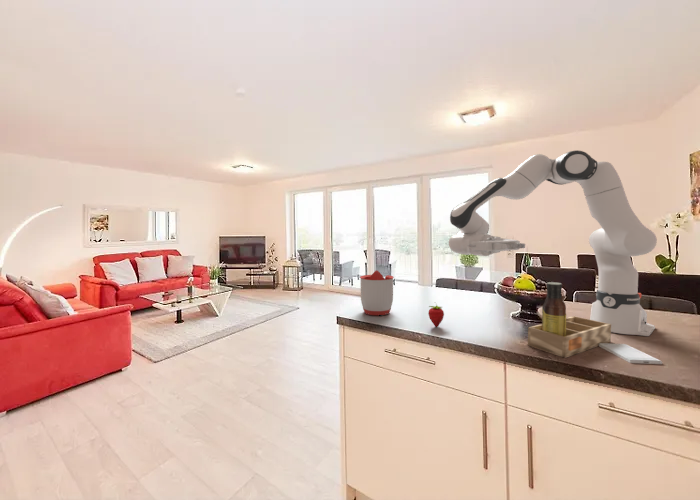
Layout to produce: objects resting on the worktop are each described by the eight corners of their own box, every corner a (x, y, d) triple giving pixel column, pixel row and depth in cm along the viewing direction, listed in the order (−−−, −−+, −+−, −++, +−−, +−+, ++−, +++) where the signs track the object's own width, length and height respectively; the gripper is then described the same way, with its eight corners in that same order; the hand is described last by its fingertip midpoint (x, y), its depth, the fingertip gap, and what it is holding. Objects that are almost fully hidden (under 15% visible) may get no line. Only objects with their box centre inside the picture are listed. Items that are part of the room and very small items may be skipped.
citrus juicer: (398, 309, 143) (398, 268, 142) (388, 319, 127) (388, 273, 126) (368, 306, 150) (368, 267, 148) (354, 315, 134) (354, 271, 133)
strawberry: (428, 329, 113) (428, 303, 113) (428, 323, 121) (428, 299, 120) (444, 330, 112) (444, 304, 111) (443, 324, 119) (443, 300, 118)
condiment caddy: (573, 332, 109) (573, 316, 109) (612, 342, 99) (613, 324, 98) (527, 345, 97) (528, 327, 96) (566, 358, 86) (567, 338, 86)
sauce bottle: (551, 340, 98) (552, 280, 97) (570, 346, 92) (572, 283, 91) (536, 342, 96) (538, 282, 94) (555, 349, 90) (557, 285, 89)
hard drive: (598, 343, 95) (630, 359, 83) (626, 343, 95) (662, 360, 82) (598, 348, 96) (629, 364, 83) (626, 348, 95) (662, 366, 82)
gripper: (464, 237, 114) (496, 238, 102) (499, 236, 123) (533, 237, 111) (464, 253, 114) (496, 256, 102) (499, 251, 124) (532, 253, 111)
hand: (515, 246), depth 106 cm, fingers open, 8 cm apart
